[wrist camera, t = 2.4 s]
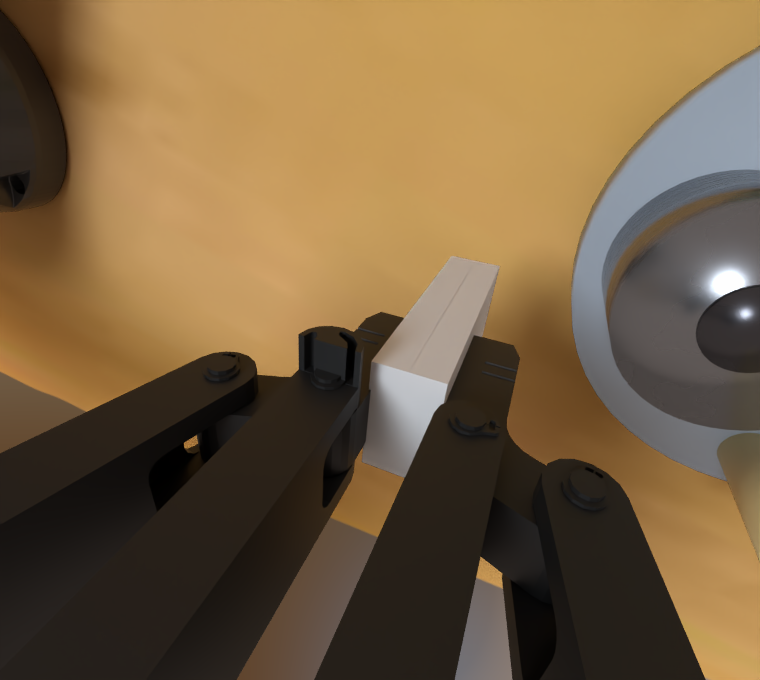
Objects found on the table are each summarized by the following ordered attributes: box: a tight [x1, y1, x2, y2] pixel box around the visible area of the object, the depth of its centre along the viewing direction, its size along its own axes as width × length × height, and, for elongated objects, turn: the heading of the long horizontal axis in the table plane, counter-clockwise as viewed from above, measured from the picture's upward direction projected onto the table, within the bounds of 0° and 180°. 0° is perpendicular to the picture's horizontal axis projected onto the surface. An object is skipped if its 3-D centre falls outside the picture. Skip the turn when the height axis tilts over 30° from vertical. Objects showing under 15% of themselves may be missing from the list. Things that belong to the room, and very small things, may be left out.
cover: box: [602, 169, 760, 431], centre depth 16 cm, size 8×8×5 cm
